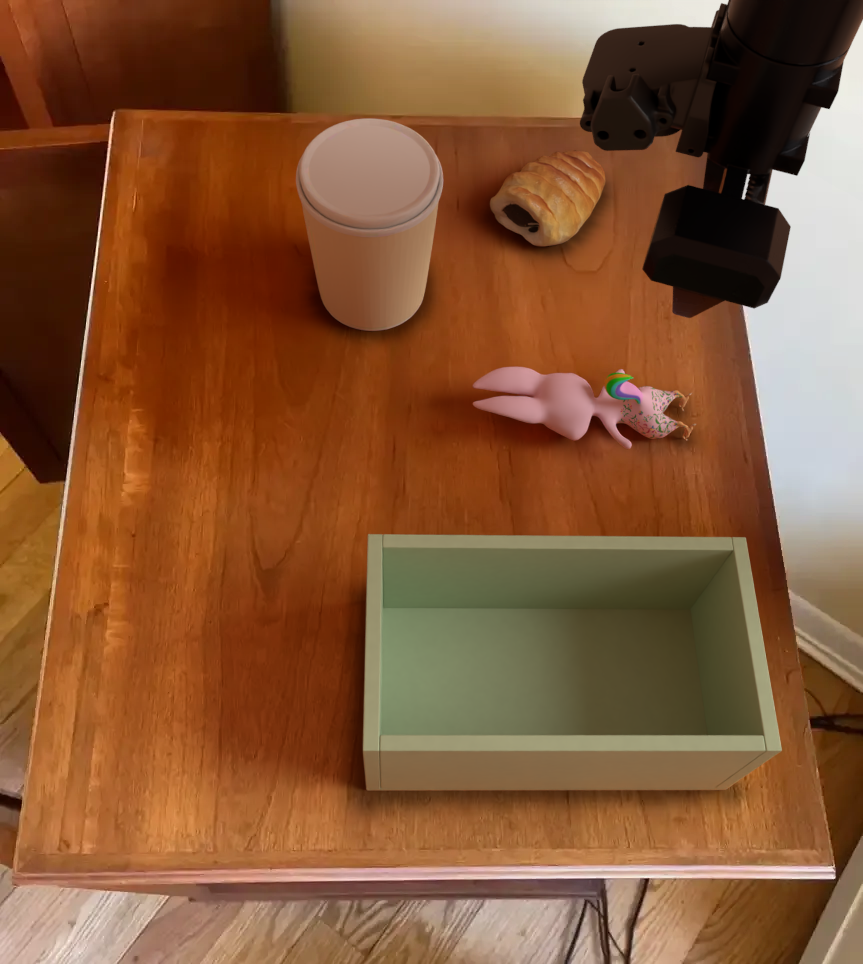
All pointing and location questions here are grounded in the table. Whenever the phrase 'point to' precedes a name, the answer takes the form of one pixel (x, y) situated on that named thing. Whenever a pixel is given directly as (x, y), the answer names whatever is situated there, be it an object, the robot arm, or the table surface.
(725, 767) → the bin
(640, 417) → the rabbit figure
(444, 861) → the table surface
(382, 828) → the table surface
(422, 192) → the coffee cup
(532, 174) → the pastry
